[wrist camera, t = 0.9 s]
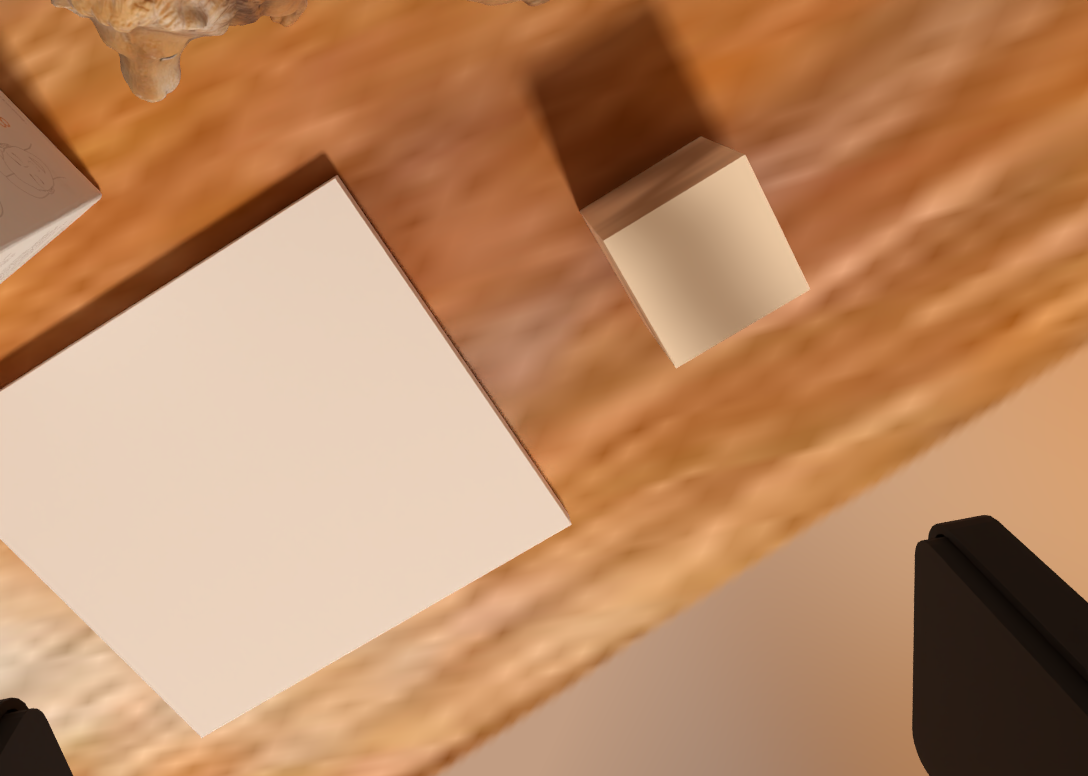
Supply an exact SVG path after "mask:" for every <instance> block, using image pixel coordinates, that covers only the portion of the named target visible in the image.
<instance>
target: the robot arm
mask: <svg viewBox="0 0 1088 776" xmlns="http://www.w3.org/2000/svg"><path fill="white" fill-rule="evenodd" d="M914 588H915V589H914V653H913V654H914V655H913V719H912V721H913V722H912V730H913V739H914V744H915V747H916V750H917V753H918V756H919V758H920V760H921V762H922V764H923V766H924V768H925V769H926V771H927V773H928V774H929V776H1088V603H1087V602H1086V601H1085V600H1084V599H1083V598H1082V597H1081V596H1080V595H1079V594H1077V592H1076V591H1074V590H1073V589H1072V588H1071V587H1070V586H1069V585H1068V584H1067V583H1066V582H1064V581H1063V580H1062V579H1061V578H1060V577H1059V576H1058V575H1057V574H1056V573H1055V572H1054V571H1052V570H1051V569H1050V568H1049V567H1048V566H1047V565H1046V564H1045V563H1044V562H1043V561H1041V560H1040V559H1039V558H1038V557H1037V556H1036V555H1035V554H1034V553H1033V552H1031V551H1030V550H1029V549H1028V548H1027V547H1026V546H1025V545H1024V544H1023V543H1022V542H1020V541H1019V540H1018V539H1017V538H1016V537H1015V536H1014V535H1013V534H1012V533H1011V532H1010V531H1008V530H1007V529H1006V528H1005V527H1004V526H1003V525H1002V524H1001V523H1000V522H999V521H997V520H996V519H994V518H992V517H991V516H987V515H981V516H976V517H971V518H965V519H961V520H955V521H950V522H944V523H939V524H936V525H934V526H932V528H931V530H930V532H929V537H928V540H923V541H920V542H918V544H917V546H916V550H915V586H914ZM0 776H73V775H72V772H71V770H70V768H69V766H68V764H67V762H66V759H65V757H64V755H63V753H62V751H61V749H60V747H59V744H58V742H57V740H56V738H55V736H54V734H53V731H52V729H51V727H50V725H49V723H48V721H47V719H46V717H45V715H44V714H43V712H41V711H40V710H39V709H34V708H32V709H28V707H27V706H26V704H25V703H24V702H23V701H21V700H20V699H18V698H7V699H2V700H0Z"/></svg>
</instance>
